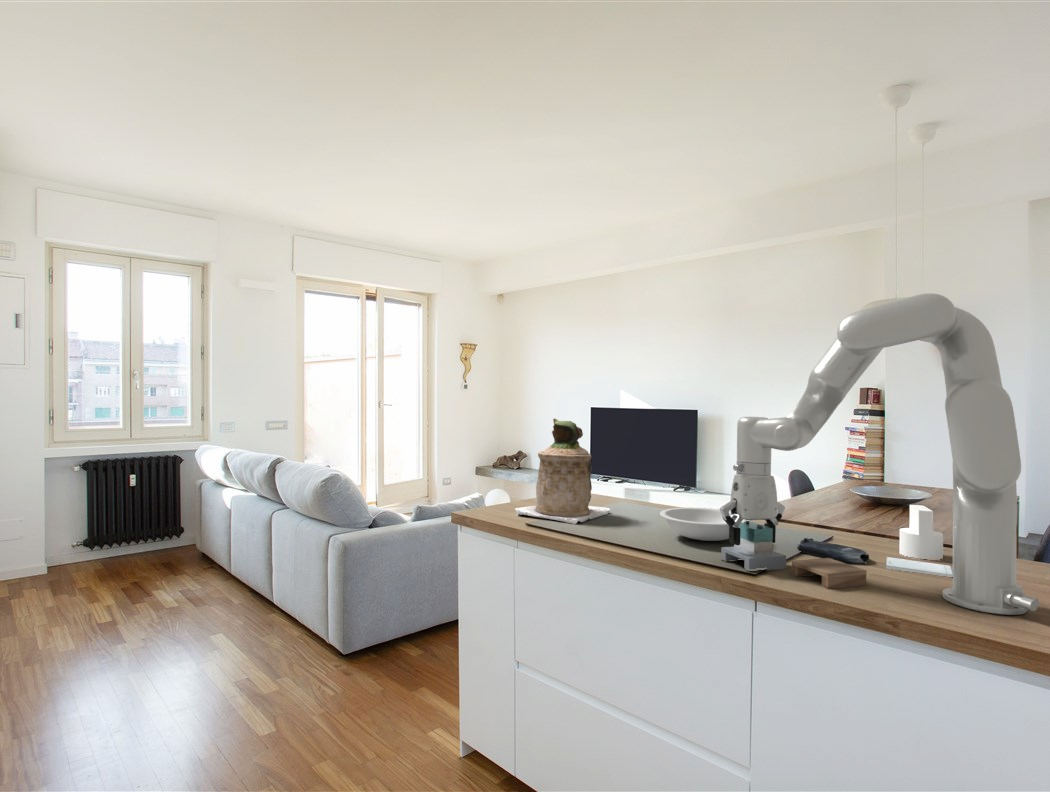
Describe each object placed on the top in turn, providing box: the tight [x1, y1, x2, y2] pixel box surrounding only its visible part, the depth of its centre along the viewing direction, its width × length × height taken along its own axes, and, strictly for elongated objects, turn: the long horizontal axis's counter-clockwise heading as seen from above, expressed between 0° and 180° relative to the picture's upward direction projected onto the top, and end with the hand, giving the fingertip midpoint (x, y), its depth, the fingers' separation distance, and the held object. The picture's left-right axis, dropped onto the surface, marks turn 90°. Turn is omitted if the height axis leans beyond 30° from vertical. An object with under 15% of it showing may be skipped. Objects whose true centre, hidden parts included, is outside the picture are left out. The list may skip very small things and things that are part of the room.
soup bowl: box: [659, 506, 752, 542], centre depth 160 cm, size 24×24×7 cm
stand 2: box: [791, 557, 867, 589], centre depth 124 cm, size 10×10×3 cm
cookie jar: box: [514, 417, 611, 525], centre depth 193 cm, size 25×25×32 cm
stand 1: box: [720, 546, 787, 571], centre depth 135 cm, size 10×10×3 cm
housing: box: [733, 521, 774, 556], centre depth 135 cm, size 7×5×7 cm
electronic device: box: [796, 537, 870, 565], centre depth 143 cm, size 9×6×15 cm
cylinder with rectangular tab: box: [898, 504, 944, 559], centre depth 145 cm, size 9×9×12 cm
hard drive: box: [885, 556, 953, 578], centre depth 133 cm, size 2×8×12 cm
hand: (752, 542), depth 135 cm, fingers open, 9 cm apart
